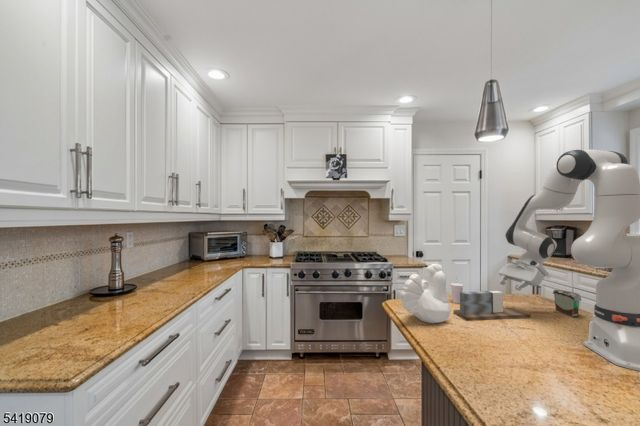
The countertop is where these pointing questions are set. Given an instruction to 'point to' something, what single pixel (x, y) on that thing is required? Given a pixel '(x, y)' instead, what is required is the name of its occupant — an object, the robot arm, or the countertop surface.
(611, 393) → the countertop surface
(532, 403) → the countertop surface
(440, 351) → the countertop surface
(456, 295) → the smoothie
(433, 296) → the decorative rooster
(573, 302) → the food container
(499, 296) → the white cylinder
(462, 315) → the stand
